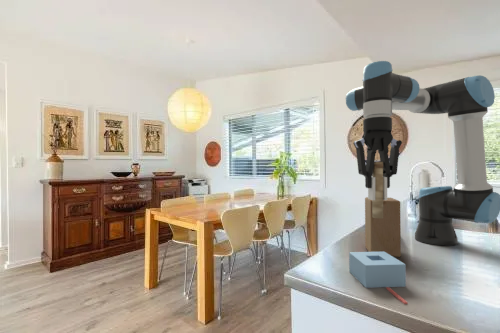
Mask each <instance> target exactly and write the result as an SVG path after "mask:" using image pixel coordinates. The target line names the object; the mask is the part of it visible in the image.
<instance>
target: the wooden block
mask: <svg viewBox="0 0 500 333" xmlns="http://www.w3.org/2000/svg"><path fill="white" fill-rule="evenodd" d="M364 224H365V225H364V229H365V231H364V232H365V233H364V234H365V237H364V238H365V240H364V243H365V244H364V245H365V248H366V250H367V252H382V251H384V252H386V253H388V254H389V255H391V256H393V257H394V258H400V257H401V250H402V249H401V248H402V246H401V245H402V244H401V240H402V239H401V238H402V237H401V236H402V235H401V201H400V200H398V199H396V198H393V197H387V200H383V218H373V217H372V200H370V199H368V196H366V197H365V198H364Z"/></svg>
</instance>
